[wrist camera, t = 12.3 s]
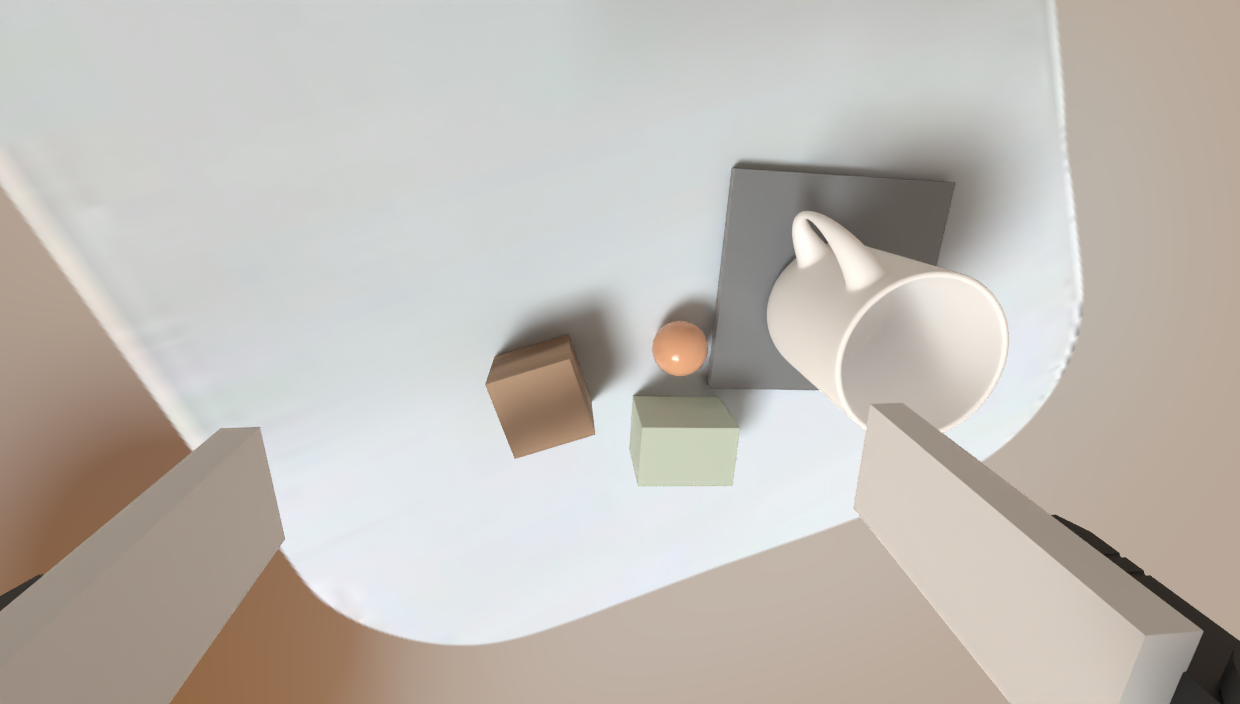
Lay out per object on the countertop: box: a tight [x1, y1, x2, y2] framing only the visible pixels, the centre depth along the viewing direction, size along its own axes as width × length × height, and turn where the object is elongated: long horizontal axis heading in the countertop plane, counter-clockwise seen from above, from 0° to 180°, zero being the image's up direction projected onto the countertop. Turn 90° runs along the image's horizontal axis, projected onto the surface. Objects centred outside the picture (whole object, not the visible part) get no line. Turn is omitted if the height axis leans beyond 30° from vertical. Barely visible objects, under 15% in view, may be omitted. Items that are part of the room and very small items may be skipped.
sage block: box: [629, 396, 740, 486], centre depth 38 cm, size 4×6×5 cm, turn 87°
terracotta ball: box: [652, 321, 708, 376], centre depth 37 cm, size 4×4×4 cm
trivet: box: [707, 168, 955, 390], centre depth 38 cm, size 14×14×1 cm
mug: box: [767, 211, 1009, 433], centre depth 32 cm, size 9×12×11 cm
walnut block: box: [485, 334, 595, 459], centre depth 36 cm, size 5×5×5 cm
